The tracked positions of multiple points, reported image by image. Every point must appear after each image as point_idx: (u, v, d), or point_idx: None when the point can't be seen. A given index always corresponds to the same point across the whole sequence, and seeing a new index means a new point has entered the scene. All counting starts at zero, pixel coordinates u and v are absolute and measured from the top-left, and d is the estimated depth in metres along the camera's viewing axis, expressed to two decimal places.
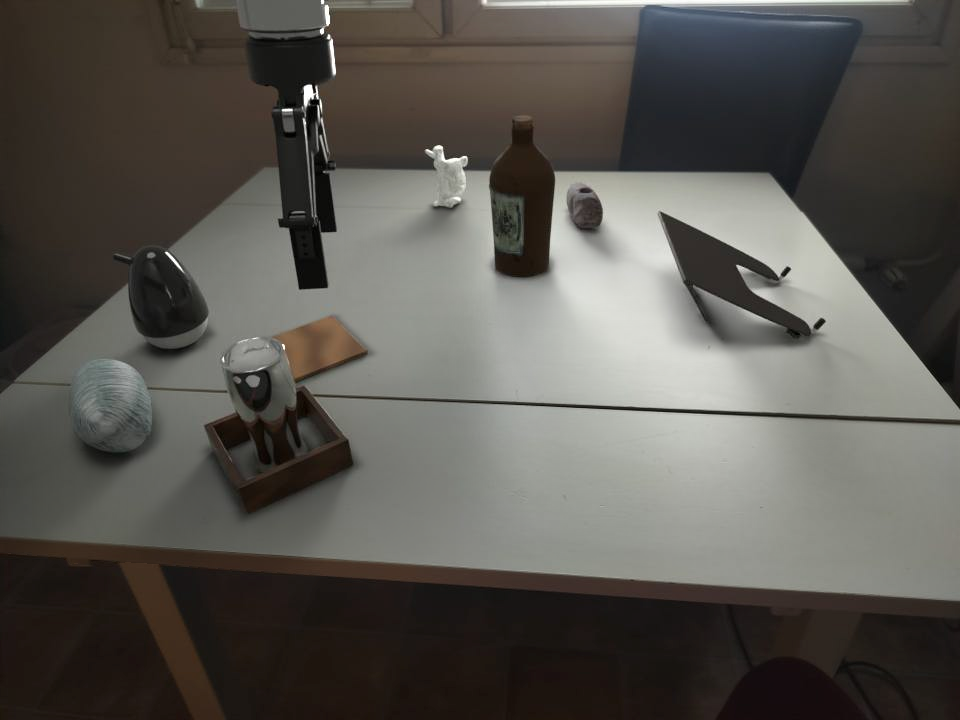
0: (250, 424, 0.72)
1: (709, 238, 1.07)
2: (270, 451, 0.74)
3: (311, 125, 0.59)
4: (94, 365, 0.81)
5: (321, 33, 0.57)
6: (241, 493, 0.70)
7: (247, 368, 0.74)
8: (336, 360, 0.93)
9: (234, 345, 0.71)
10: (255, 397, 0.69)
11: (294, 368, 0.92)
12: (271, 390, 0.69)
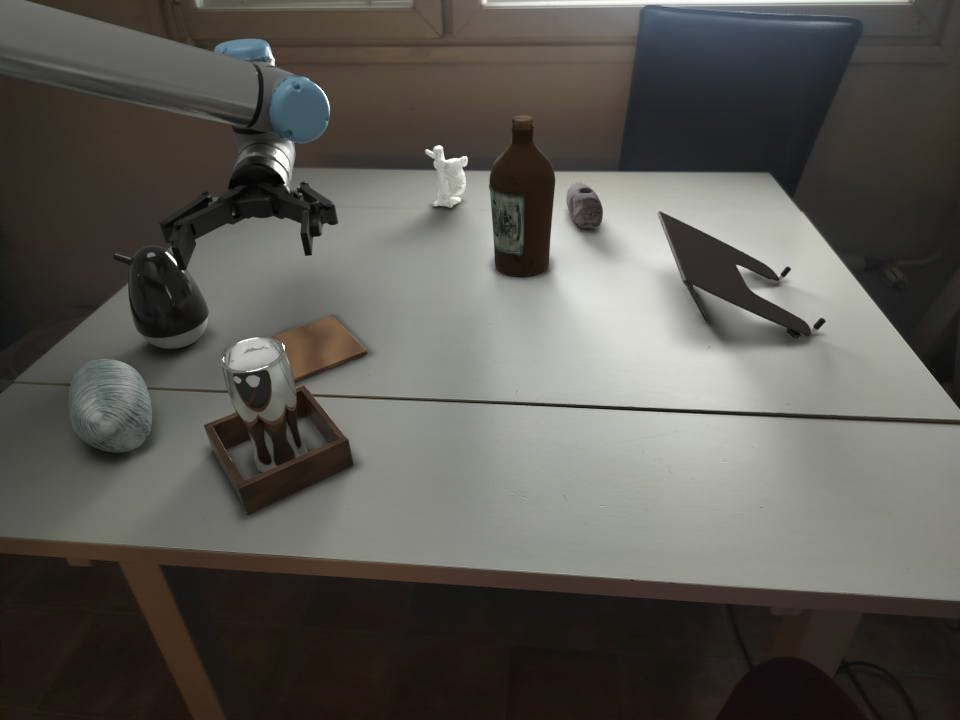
0: (250, 424, 0.72)
1: (709, 238, 1.07)
2: (270, 451, 0.74)
3: None
4: (94, 365, 0.81)
5: None
6: (241, 493, 0.70)
7: (247, 368, 0.74)
8: (336, 360, 0.93)
9: (234, 345, 0.71)
10: (255, 397, 0.69)
11: (294, 368, 0.92)
12: (271, 390, 0.69)
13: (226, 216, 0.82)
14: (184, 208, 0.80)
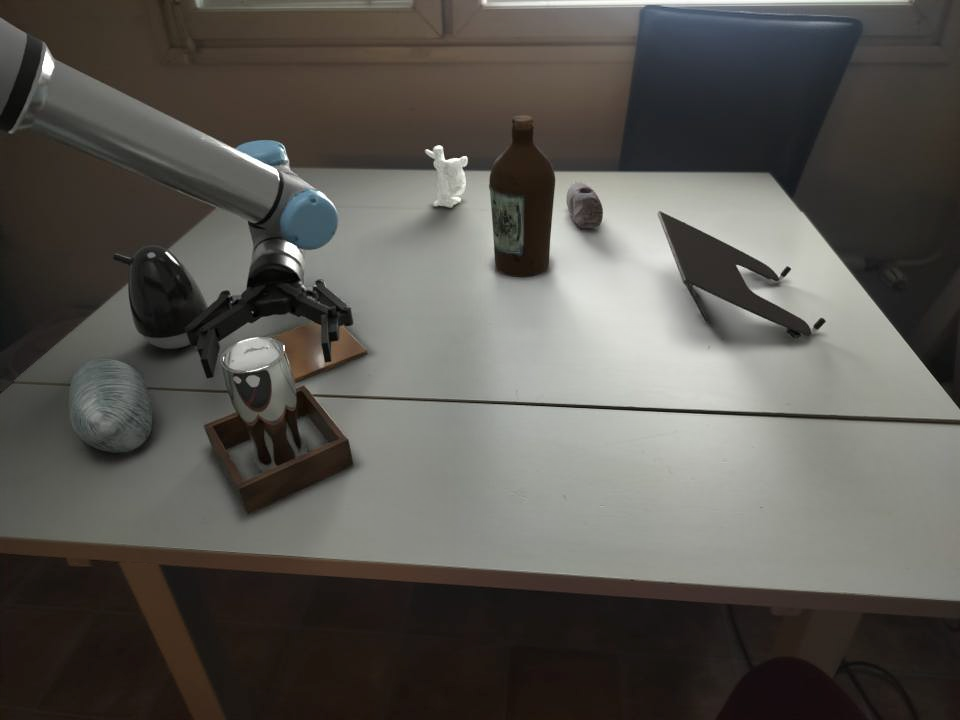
0: (250, 424, 0.72)
1: (709, 238, 1.07)
2: (270, 451, 0.74)
3: None
4: (94, 365, 0.81)
5: None
6: (241, 493, 0.70)
7: (247, 368, 0.74)
8: (336, 360, 0.93)
9: (234, 345, 0.71)
10: (255, 397, 0.69)
11: (294, 368, 0.92)
12: (271, 390, 0.69)
13: (246, 316, 0.87)
14: (207, 310, 0.85)
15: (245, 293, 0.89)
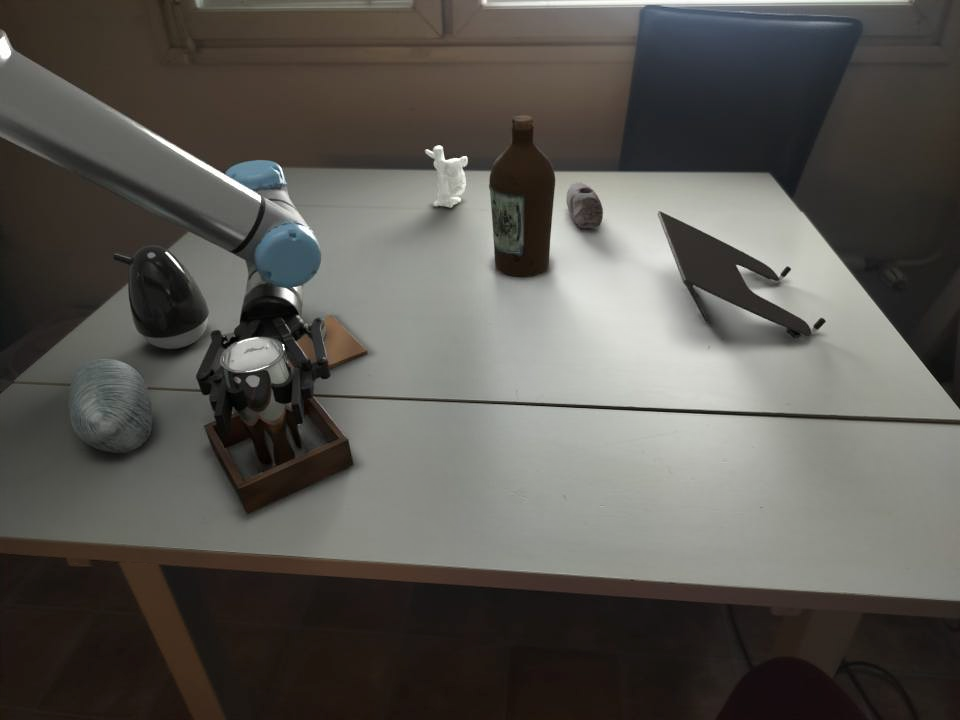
0: (250, 424, 0.72)
1: (709, 238, 1.07)
2: (270, 451, 0.74)
3: None
4: (94, 365, 0.81)
5: None
6: (241, 493, 0.70)
7: (247, 368, 0.74)
8: (336, 360, 0.93)
9: (234, 345, 0.71)
10: (255, 397, 0.69)
11: None
12: (271, 390, 0.69)
13: None
14: (209, 354, 0.77)
15: (238, 329, 0.81)
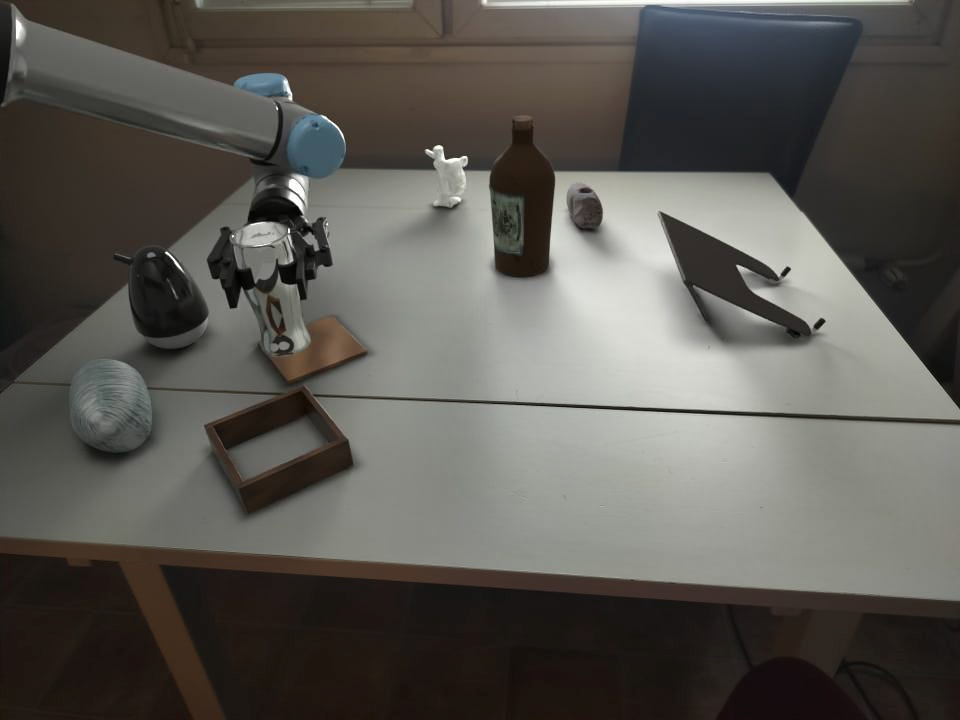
0: (257, 302, 0.76)
1: (709, 238, 1.07)
2: (276, 332, 0.79)
3: None
4: (94, 365, 0.81)
5: None
6: (241, 493, 0.70)
7: None
8: (336, 360, 0.93)
9: (242, 228, 0.76)
10: (262, 273, 0.74)
11: (294, 368, 0.92)
12: (277, 267, 0.74)
13: None
14: (219, 244, 0.82)
15: None
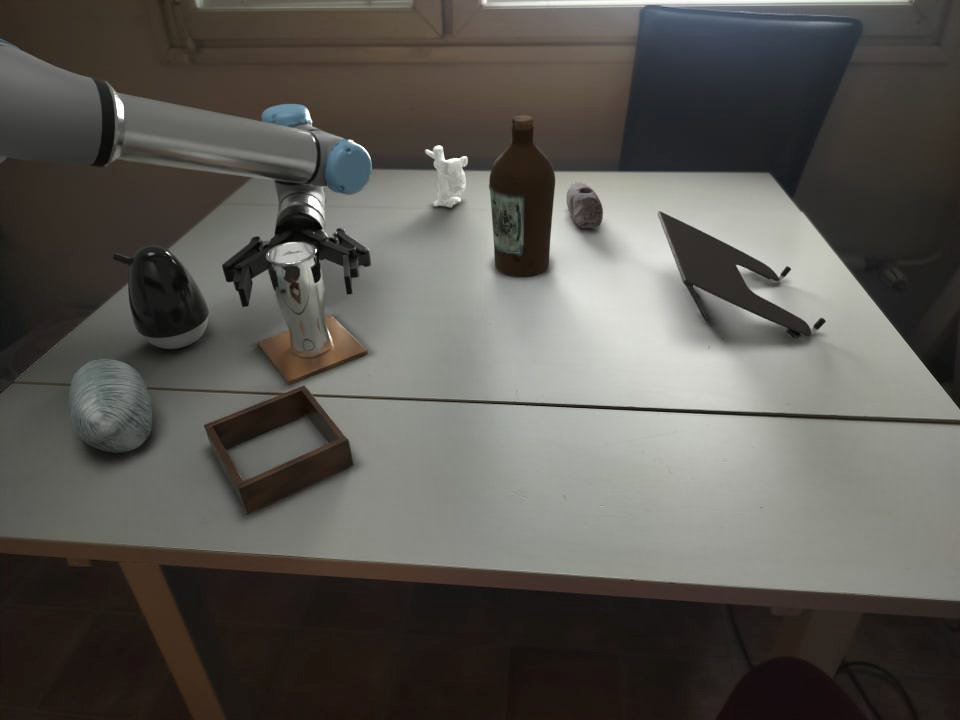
0: (288, 311, 0.90)
1: (709, 238, 1.07)
2: (303, 336, 0.92)
3: (319, 252, 1.00)
4: (94, 365, 0.81)
5: None
6: (241, 493, 0.70)
7: None
8: (336, 360, 0.93)
9: (276, 247, 0.89)
10: (294, 286, 0.87)
11: (294, 368, 0.92)
12: (306, 281, 0.87)
13: None
14: (241, 252, 0.95)
15: (274, 239, 0.99)
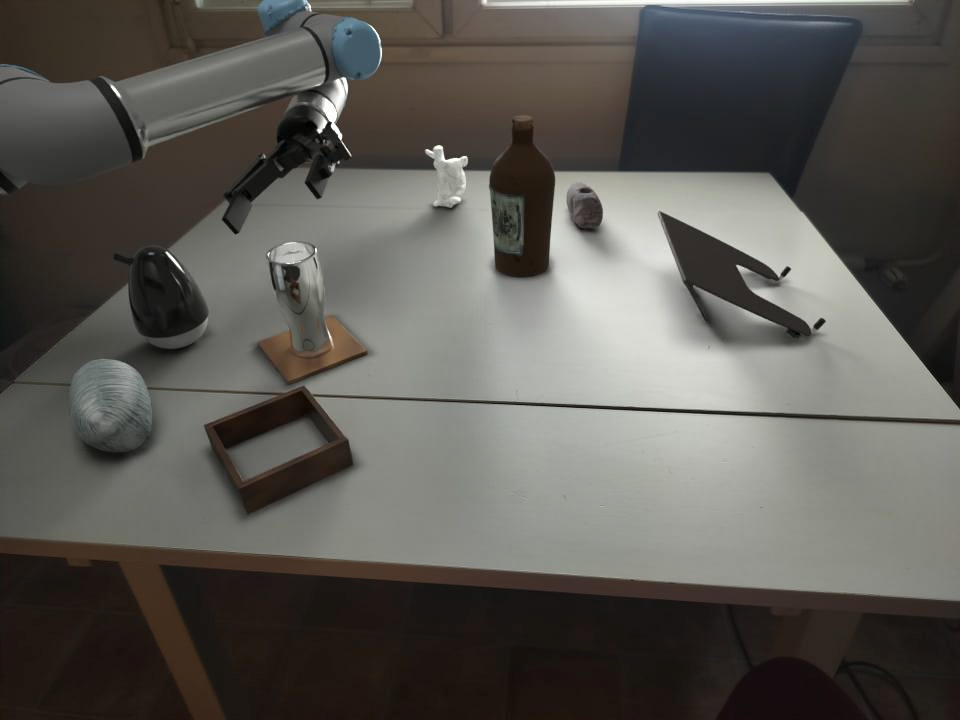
0: (288, 311, 0.90)
1: (709, 238, 1.07)
2: (303, 336, 0.92)
3: None
4: (94, 365, 0.81)
5: None
6: (241, 493, 0.70)
7: None
8: (336, 360, 0.93)
9: (276, 247, 0.89)
10: (294, 286, 0.87)
11: (294, 368, 0.92)
12: (306, 281, 0.87)
13: (274, 173, 0.96)
14: (242, 175, 0.96)
15: None
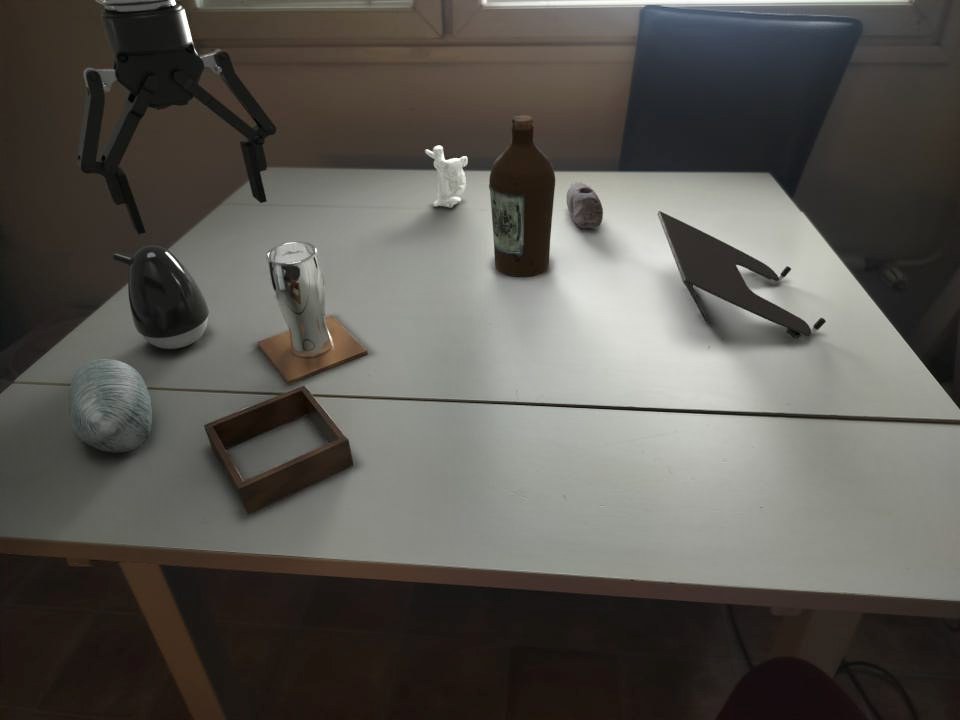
0: (288, 311, 0.90)
1: (709, 238, 1.07)
2: (303, 336, 0.92)
3: (139, 91, 0.66)
4: (94, 365, 0.81)
5: (140, 9, 0.61)
6: (241, 493, 0.70)
7: None
8: (336, 360, 0.93)
9: (276, 247, 0.89)
10: (294, 286, 0.87)
11: (294, 368, 0.92)
12: (306, 281, 0.87)
13: (205, 105, 0.71)
14: None
15: None
